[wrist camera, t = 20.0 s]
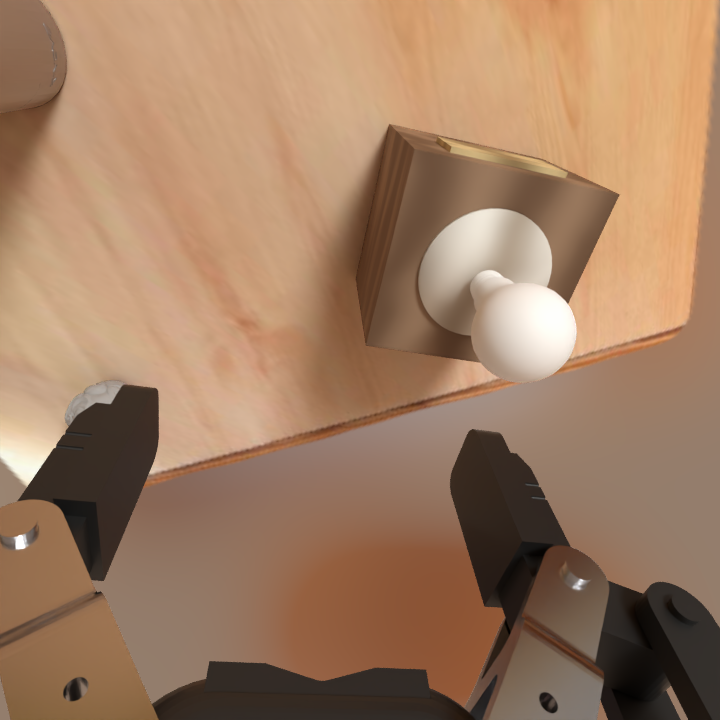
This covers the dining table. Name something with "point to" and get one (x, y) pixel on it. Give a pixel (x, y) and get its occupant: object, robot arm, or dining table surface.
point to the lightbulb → (520, 328)
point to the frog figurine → (93, 397)
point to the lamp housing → (466, 236)
